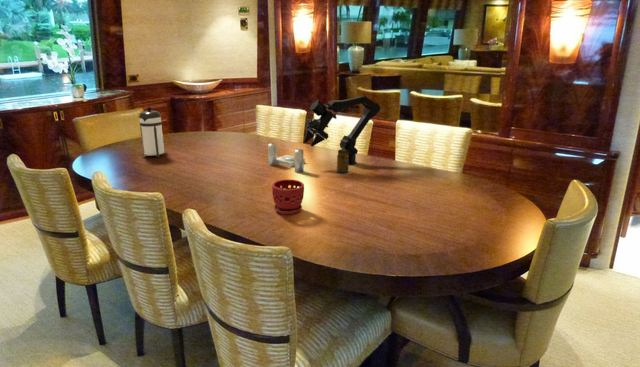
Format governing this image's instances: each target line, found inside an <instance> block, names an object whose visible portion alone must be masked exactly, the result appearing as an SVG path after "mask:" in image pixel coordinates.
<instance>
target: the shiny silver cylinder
mask: <svg viewBox="0 0 640 367" xmlns="http://www.w3.org/2000/svg"><path fill="white" fill-rule="evenodd" d="M304 155H305V154H304V149H303V148H296V149H294V156H295V166H294V173H295V174H301V173H304V171H305V170H304V168H305V165H304V159H305V158H304Z"/></svg>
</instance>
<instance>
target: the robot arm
mask: <svg viewBox="0 0 640 367" xmlns="http://www.w3.org/2000/svg"><path fill="white" fill-rule="evenodd" d="M357 105H358V106H359V105H362V106H363V108H364V109H363V114H362V116H361V117H360V118H359V120H358V121H357V123H356V124H355V126H354V127H353V129H352V130H351V132H350V133H349V134H348V135H343V137H342V139H341V140H339V141H340V142H339V148H340V149H345V150H348V156H349V161H348V162H349V163H348V164H349V165H348V166H353V165H355V164H358V161H356V160H357V159H356V155H357V154H358V149H357V148H356V147H355V146H356V144H357V139H358V137H359V136H360V134H362V132H363V130H364V129H365V128H366V126H367V125H368V123H369V122H370V120H371V119H373V118H374V117H375V116H376V115H377V114H378V113H380V111H381V106H380V104H379V103H378V102H377V103H376V102H375V101H373V100H371V99H370V98H369V97H367V96H366V95H359V96H355V97H351V98H350V97H349V98H346V99H342V100H341V99H340V100H339V99H338V100H337V99H334V100H329V101H328V102H327V103H322V101H321V100H319V99H317V100H316V101H315V102H313V103H312V104H311V105H310V108H309V110H310V111H311V112H312V113H314V114H315V115H316V116H318V117H319V118H317V119H316V118H312V119H311V118H306V121H305V127H304V128H305V133H306V134H305V137H304V140H303V143H304V144H307V143H308V142H309V141H310V140H311V139H312V138H313V140H312V142H311V144H310V147H315V146H316V145H318V144H319V143H321V142H323V141H326V140H328V139H329V133H328V132H326V131H325V130H326V128H329V123H330V122H331V121H332V119H335V120H336V119H337V113H338V112H340V111H343V110H344V109H346V108H348V107H353V106H357Z"/></svg>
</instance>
